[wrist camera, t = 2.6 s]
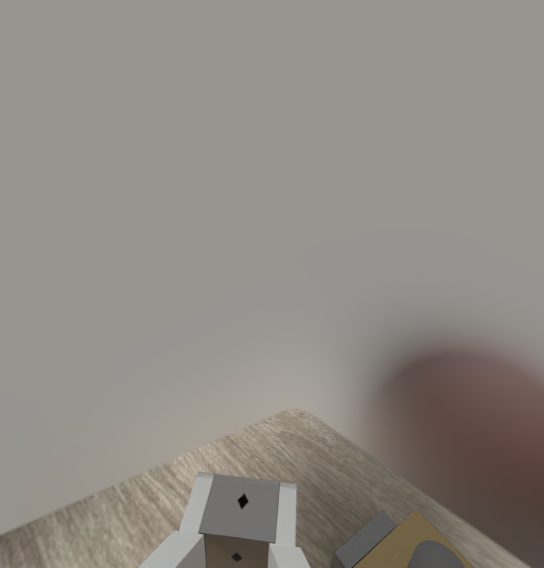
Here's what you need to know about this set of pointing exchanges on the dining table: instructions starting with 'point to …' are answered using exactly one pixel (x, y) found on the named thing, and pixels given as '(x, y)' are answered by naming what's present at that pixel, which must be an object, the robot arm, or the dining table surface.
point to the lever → (434, 556)
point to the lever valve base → (389, 543)
